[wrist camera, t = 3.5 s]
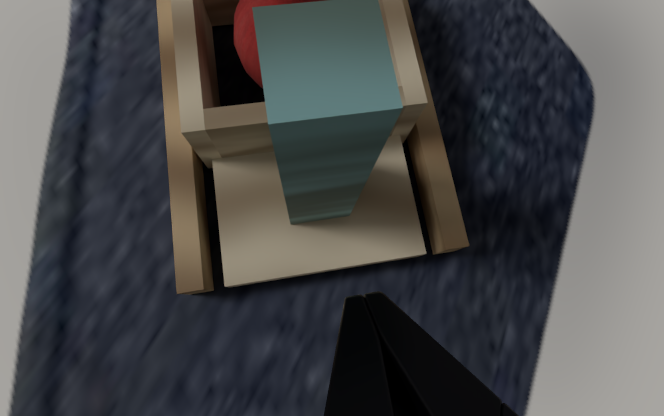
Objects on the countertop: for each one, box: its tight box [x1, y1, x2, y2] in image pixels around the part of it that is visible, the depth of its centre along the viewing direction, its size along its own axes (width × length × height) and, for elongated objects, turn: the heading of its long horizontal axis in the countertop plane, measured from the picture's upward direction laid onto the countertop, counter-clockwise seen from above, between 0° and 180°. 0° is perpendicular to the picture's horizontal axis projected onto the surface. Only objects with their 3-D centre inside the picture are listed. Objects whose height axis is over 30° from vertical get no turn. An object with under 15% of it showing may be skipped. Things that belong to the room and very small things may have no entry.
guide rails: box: [157, 0, 469, 294], centre depth 21 cm, size 24×14×2 cm, turn 9°
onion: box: [234, 0, 327, 88], centre depth 18 cm, size 6×6×8 cm
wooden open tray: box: [171, 0, 428, 288], centre depth 15 cm, size 16×11×12 cm, turn 9°
